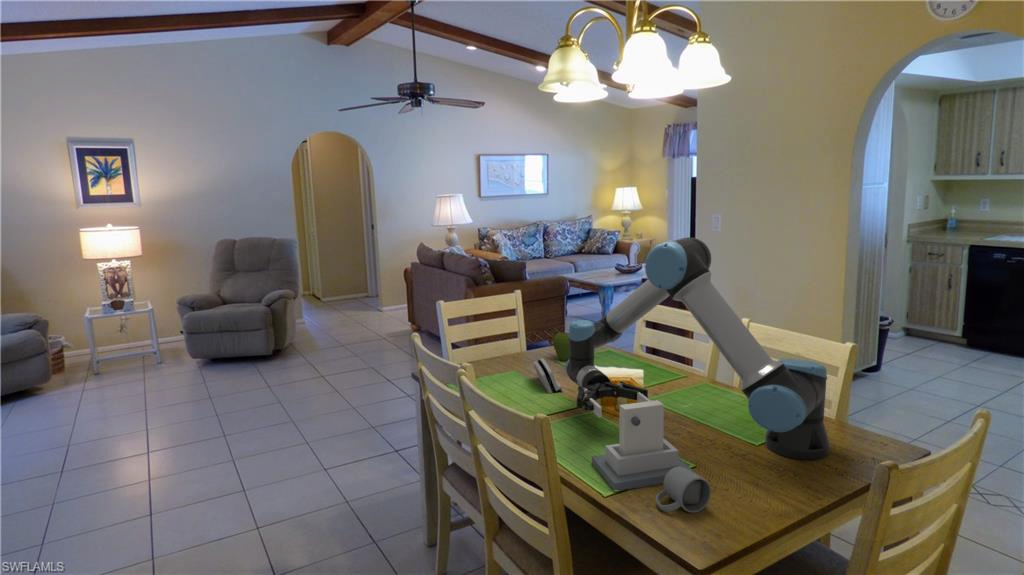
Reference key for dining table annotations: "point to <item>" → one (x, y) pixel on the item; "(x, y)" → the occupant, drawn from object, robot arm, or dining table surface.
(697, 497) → the ceramic mug
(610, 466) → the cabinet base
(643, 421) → the cabinet door
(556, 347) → the green vase
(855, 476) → the dining table surface
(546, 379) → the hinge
